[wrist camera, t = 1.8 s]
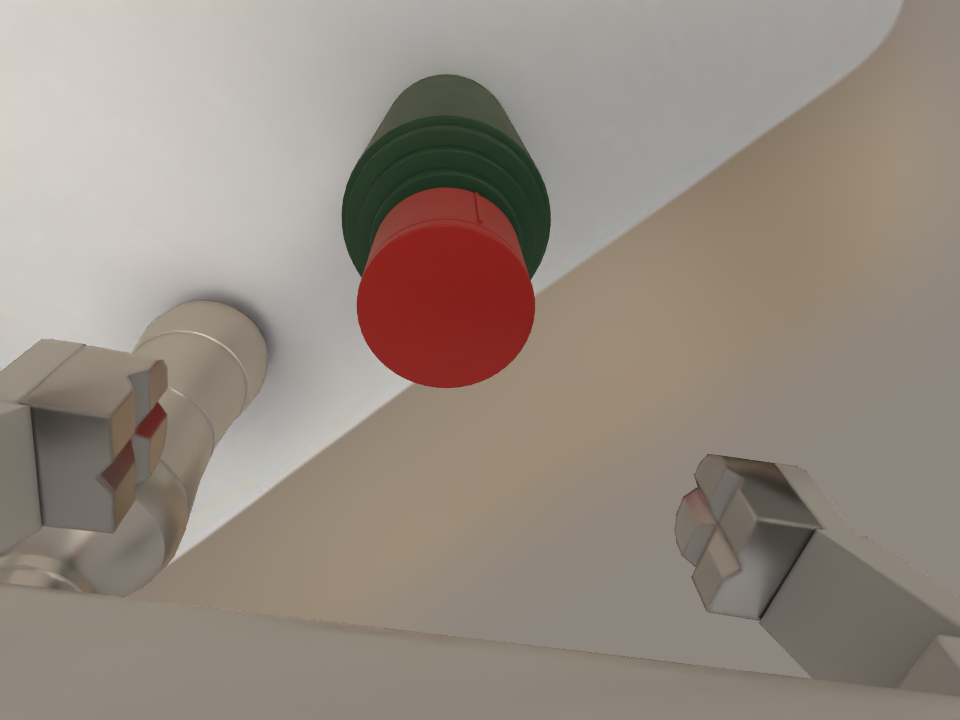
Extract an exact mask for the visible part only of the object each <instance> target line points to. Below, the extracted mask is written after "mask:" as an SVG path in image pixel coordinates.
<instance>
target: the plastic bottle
mask: <svg viewBox="0 0 960 720" xmlns="http://www.w3.org/2000/svg"><path fill="white" fill-rule="evenodd" d="M132 354H137V355H142V356H147V357H153V358H158V359H163V360H164V362H165V363H166V365H167V368H168V388H167V390H166V391H165V392H164V394H163V395H162V397H161V398H160V399H159V401H158V402H159V404H160V405H161V406H162V408H163V409H164V410H165V412H166V413H167V414H168V417H167V433H166V439H165V445H164V448H163V451H162V454H161V457H160V460H159V462H158V465H157V467H156V468H155V470H154V471H153V473H152V475H151V476H150V478H149V479H147V480H145V481H142V482H140V483H138V484H136V500H135V502H134V503H133V505H132V506H131V508H130V509H129V511H128V512H127V514H126V515H125V517H124V518H123V520H122V522H121V523H120V525H119V526H118V528H117V529H116V531H115V532H114V534H112V533H102V532H93V531H83V530H74V529H64V528H55V527H46V526H42V530H40V531H39V532H37V533H35V534H34V535H32V536H30V537H28V538H27V539H25V540H23V541H21V542H20V543H18V544H16V545H15V546H13V547H11V548H9V549H8V550H6V551H4V552H3V553H1V554H0V582H3V583H11V584H19V585H28V586H36V587H45V588H53V589H61V590H70V591H78V592H87V593H95V594H103V595H112V596H120V597H126V596H128V595H130V594H132V593H134V592H136V591H138V590H139V589H141V588H143V587H144V586H145V585H147V584H148V583H149V582H150V581H152V580H153V579H154V578H155V577H156V576H157V575H158V574H159V573H160V572H161V571H162V570H163V569H164V568H165V567H166V566H167V565H168V563H169V562H170V561H171V560H172V558H173V557H174V555H175V553H176V551H177V549H178V547H179V544H180V542H181V539H182V537H183V534H184V532H185V530H186V525H187V523H188V520H189V516H190V513H191V510H192V506H193V503H194V500H195V496H196V493H197V490H198V486H199V483H200V480H201V477H202V475H203V473H204V471H205V469H206V466H207V464H208V462H209V460H210V457H211V455H212V453H213V451H214V449H215V446H216V445H217V444H218V442H219V441H220V439H221V438H222V436H223V435H224V434H225V432H226V431H227V429H228V428H229V427H230V425H231V424H232V422H233V421H234V420H235V419H236V418H237V417H238V416H239V415H240V414H241V413H242V412H243V411H244V410H245V409H246V408H247V407H248V405H249V404H250V403H251V402H252V400H253V399H254V398H255V397H256V395H257V394H258V393H259V391H260V389H261V387H262V385H263V382H264V377H265V372H266V366H267V360H268V359H267V348H266V344H265V340H264V338H263V336H262V334H261V332H260V331H259V329H258V328H257V327H256V325H255V324H254V323H253V322H252V321H251V320H250V319H249V318H248V317H247V316H246V315H244V314H243V313H241V312H240V311H238V310H237V309H235V308H233V307H230V306H228V305H226V304H223V303H218V302H214V301H202V300H200V301H192V302H187V303H184V304H181V305H178V306H176V307H175V308H173V309H171V310H170V311H168V312H166V313H164V314H163V315H161V316H159V317H157V318H156V319H155V320H154V321H153V322H152V323H151V324H149V325H148V327H147V328H146V330H145V331H144V333H143V334H142V336H141V338H140V339H139V341H138V343H137V344H136V346H135V348H134V350H133V353H132Z"/></svg>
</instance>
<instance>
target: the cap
mask: <svg viewBox="0 0 960 720" xmlns="http://www.w3.org/2000/svg"><path fill="white" fill-rule="evenodd" d="M534 314H535V298H534V292H533V287H532V284H531V281H530V277H529V274H528V271H527V268H526V264H525V261H524V258H523V255H522V251H521V248H520V245H519V242H518V238H517V235H516V233H515V231H514V228H513V226H512V225H511V223H510V222H509V220H508V218H507V217H506V216H505V215H504V214H503V212H502V211H501V210H500V209H499V208H498V207H496V206H495V205H494V204H493V203H492V202H490V201H489V200H487V199H486V198H484V197H482V196H480V195H478V193H477V192H475V193H473V192H470V191H467V190H463V189H458V188H447V187H444V188H433V189H428V190H424V191H421V192H418V193H416V194H414V195H412V196H410V197H408V198H406V199H404V200H403V201H402V202H400V203H399V204H397V205H396V206H395V207H394V208H393V209H392V210H391V211H390V212H389V213H388V215H387V216H386V217H385V218H384V220H383V222H382V223H381V225H380V227H379V229H378V231H377V233H376V236H375V239H374V242H373V245H372V248H371V251H370V254H369V257H368V260H367V263H366V267H365V270H364V273H363V276H362V279H361V282H360V286H359V289H358V296H357V315H358V322H359V325H360V328H361V332H362V334H363V336H364V339H365V341H366V343H367V344H368V346H369V347H370V349H371V351H372V352H373V353H374V354H375V356H376V357H377V358H378V359H379V360H380V361H381V362H382V363H383V364H384V365H385V366H386V367H387V368H389V369H390V370H392V371H393V372H394V373H396V374H398V375H399V376H401V377H403V378H405V379H407V380H410V381H412V382H414V383H418V384H422V385H425V386H431V387H437V388H454V387H462V386H468V385H472V384H475V383H478V382H481V381H483V380H485V379H488V378H490V377H491V376H493V375H495V374H497V373H498V372H500V371H501V370H502V369H504V368H505V367H506V366H507V365H508V364H509V363H510V362H511V361H513V360H514V359H515V357H516V356H517V355H518V353H519V352H520V351H521V350H522V348H523V346H524V345H525V343H526V341H527V339H528V337H529V334H530V332H531V329H532V325H533V322H534Z"/></svg>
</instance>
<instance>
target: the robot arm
mask: <svg viewBox="0 0 960 720" xmlns="http://www.w3.org/2000/svg"><path fill="white" fill-rule="evenodd" d="M167 388H168V368H167V365H166V363H165V362H164V360H163V359H158V358H153V357H147V356H142V355H137V354H132V353H126V352H121V351H116V350H111V349H105V348H100V347H95V346H87V345H85V344H81V343H74V342H68V341H61V340H55V339H41V340H40V341H38V342H37V343H36V344H35V345H33V346H32V347H31V348H30V349H28V350H27V351H26V352H25V353H23V354H22V355H21V356H20V357H18V358H17V359H16V360H14V361H13V362H12V363H11V364H9V365H8V366H7V367H6V368H4V369H3V370H2V371H1V372H0V554H1V553H3V552H4V551H6V550H8V549H9V548H11V547H13V546H15V545H16V544H18V543H20V542H21V541H23V540H25V539H27V538H28V537H30V536H32V535H34V534H35V533H37V532H39V531H40V530H42V526H46V527H55V528H64V529H74V530H83V531H93V532H102V533H112V534H114V532H115V531H116V529H117V528H118V526H119V525H120V523H121V522H122V520H123V518H124V517H125V515H126V514H127V512H128V511H129V509H130V508H131V506H132V505H133V503H134V502H135V500H136V484H138V483H140V482H142V481H145V480H147V479H149V478H150V476H151V475H152V473H153V471H154V470H155V468H156V467H157V465H158V462H159V460H160V457H161V454H162V451H163V448H164V445H165V439H166V433H167V417H168V414H167V413H166V412H165V410H164V409H163V408H162V406H161V405H160V404H159V402H158V401H159V399H160V398H161V397H162V395H163V394H164V392H165V391H166V390H167ZM694 476H695V479H696V483H697V486H698V487H697V488H696V489H694V490H693V491H691V492H690V493H688V494H687V495H685V496H684V497H683V499H682V501H681V504H680V506H679V509H678V511H677V514H676V523H675V535H676V542H677V545H678V547H679V550H680V552H681V555H682V556H683V557H684V558H685V559H687V560H688V561H689V562H690V563H691V564H692V565H693V566H695V567H696V569H695V571H694V573H693V575H692V580H693V582H694V584H695V586H696V589H697V591H698V593H699V595H700V598H701V600H702V602H703V604H704V607H705V609H706V611H707V612H709V613H715V614H722V615H728V616H734V617H740V618H746V619H753V620H759V621H760V622H759V623H760V625H761V626H762V627H763V628H765V630H766V631H767V632H768V633H769V634H770V635H771V636H772V637H773V638H774V639H775V640H776V641H777V642H778V643H779V644H780V645H781V646H782V647H783V648H784V649H785V650H786V652H787V653H788V654H789V655H790V656H791V657H792V658H793V659H794V660H795V661H796V662H797V663H798V664H799V665H800V666H801V667H802V668H803V669H804V670H805V671H806V672H807V673H808V674H809V675H810V676H811V677H812V678H813V679H810V678H801V677H793V676H785V675H777V674H768V673H760V672H751V671H742V670H734V669H726V668H718V667H709V666H700V665H692V664H684V663H676V662H667V661H659V660H650V659H641V658H634V657H625V656H616V655H608V654H599V653H592V652H583V651H575V650H566V649H558V648H549V647H540V646H532V645H523V644H515V643H506V642H497V641H490V640H481V639H473V638H464V637H456V636H448V635H439V634H430V633H422V632H413V631H405V630H397V629H389V628H380V627H372V626H363V625H355V624H346V623H338V622H330V621H322V620H313V619H305V618H297V617H288V616H280V615H271V614H263V613H255V612H246V611H238V610H229V609H221V608H212V607H204V606H196V605H187V604H179V603H171V602H162V601H154V600H145V599H137V598H128V597H120V596H112V595H103V594H95V593H87V592H78V591H70V590H61V589H53V588H45V587H36V586H28V585H19V584H11V583H3V582H0V720H960V596H958V595H956V594H955V593H953V592H952V591H950V590H949V589H947V588H946V587H944V586H942V585H941V584H939V583H938V582H936V581H935V580H933V579H932V578H930V577H928V576H927V575H925V574H923V573H922V572H921V571H919V570H917V569H916V568H915V567H913V566H911V565H910V564H908V563H907V562H905V561H904V560H902V559H900V558H899V557H897V556H896V555H894V554H893V553H891V552H890V551H888V550H887V549H885V548H883V547H882V546H880V545H879V544H877V543H876V542H874V541H873V540H871V539H869V538H868V537H865V536H859V535H857V534H856V533H855V531H854V530H853V529H852V528H851V526H850V525H849V524H848V523H847V522H846V520H845V519H844V518H843V516H842V515H841V514H840V513H839V511H838V510H837V509H836V508H835V506H834V505H833V504H832V503H831V501H830V500H829V499H828V498H827V496H826V495H825V494H824V493H823V491H822V490H821V489H820V488H819V486H818V485H817V484H816V483H815V482H814V480H813V479H812V478H811V476H810V475H809V474H808V473H807V472H806V470H804V469H802V468H799V467H798V466H793V465H785V464H778V463H777V464H776V463H770V462H762V461H755V460H748V459H741V458H734V457H728V456H721V455H713V454H708V455H706V456H705V458H704V459H703V460H702V461H701V462H700V464H699V466H698V467H697V470H696V472H695V474H694Z"/></svg>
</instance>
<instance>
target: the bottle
mask: <svg viewBox="0 0 960 720" xmlns="http://www.w3.org/2000/svg"><path fill="white" fill-rule="evenodd" d="M444 187H447V188H458V189H463V190H467V191H470V192H473V193H475V192H477V193H478V195H480V196H482V197H484V198H486V199H487V200H489V201H490V202H492V203H493V204H494V205H495V206H496V207H498V208H499V209H500V210H501V211H502V212H503V214H504V215H505V216H506V217H507V218H508V220H509V222H510V223H511V225H512V226H513V228H514V231H515V233H516V235H517V238H518V242H519V245H520V248H521V251H522V255H523V258H524V261H525V264H526V268H527V271H528V274H529V277H530V280H531V279H532V277H533V275H534V274H535V272H536V270H537V268H538V267H539V265H540V263H541V261H542V258H543V256H544V253H545V251H546V247H547V243H548V240H549V233H550V226H551V212H550V205H549V198H548V194H547V191H546V187H545V184H544V182H543V179H542V177H541V175H540V173H539V171H538V169H537V167H536V166H535V164H534V162H533V160H532V159H531V157H530V155H529V153H528V152H527V150H526V148H525V146H524V145H523V143H522V141H521V139H520V138H519V136H518V134H517V132H516V131H515V129H514V127H513V125H512V124H511V122H510V120H509V118H508V117H507V115H506V113H505V111H504V110H503V108H502V106H501V105H500V103H499V102H498V100H497V99H496V98H495V97H494V96H493V95H492V94H491V93H490V92H489V91H488V90H487V89H486V88H484V87H483V86H482V85H480V84H478V83H477V82H475V81H473V80H470V79H468V78H465V77H461V76H457V75H436V76H431V77H427V78H425V79H422V80H420V81H418V82H416V83H414V84H412V85H411V86H410V87H408V88H407V89H406V90H405V91H404V92H403V93H401V94H400V95H399V97H398V98H397V99H396V101H395V102H394V103H393V105H392V107H391V108H390V110H389V111H388V113H387V115H386V116H385V118H384V120H383V121H382V123H381V125H380V126H379V128H378V130H377V131H376V133H375V135H374V136H373V138H372V139H371V141H370V143H369V144H368V146H367V148H366V149H365V151H364V153H363V154H362V156H361V158H360V159H359V161H358V163H357V164H356V166H355V168H354V170H353V171H352V173H351V176H350V178H349V181H348V183H347V186H346V190H345V194H344V198H343V205H342V229H343V235H344V240H345V244H346V247H347V250H348V253H349V255H350V257H351V260H352V262H353V264H354V266H355V267H356V269H357V271H358V273H359V274H360V276H361V278H362V276H363V273H364V270H365V267H366V263H367V260H368V257H369V254H370V251H371V248H372V245H373V242H374V239H375V236H376V233H377V231H378V229H379V227H380V225H381V223H382V222H383V220H384V218H385V217H386V216H387V215H388V213H389V212H390V211H391V210H392V209H393V208H394V207H395V206H396V205H397V204H399V203H400V202H402V201H403V200H404V199H406V198H408V197H410V196H412V195H414V194H416V193H418V192H421V191H424V190H428V189H433V188H444Z"/></svg>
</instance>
